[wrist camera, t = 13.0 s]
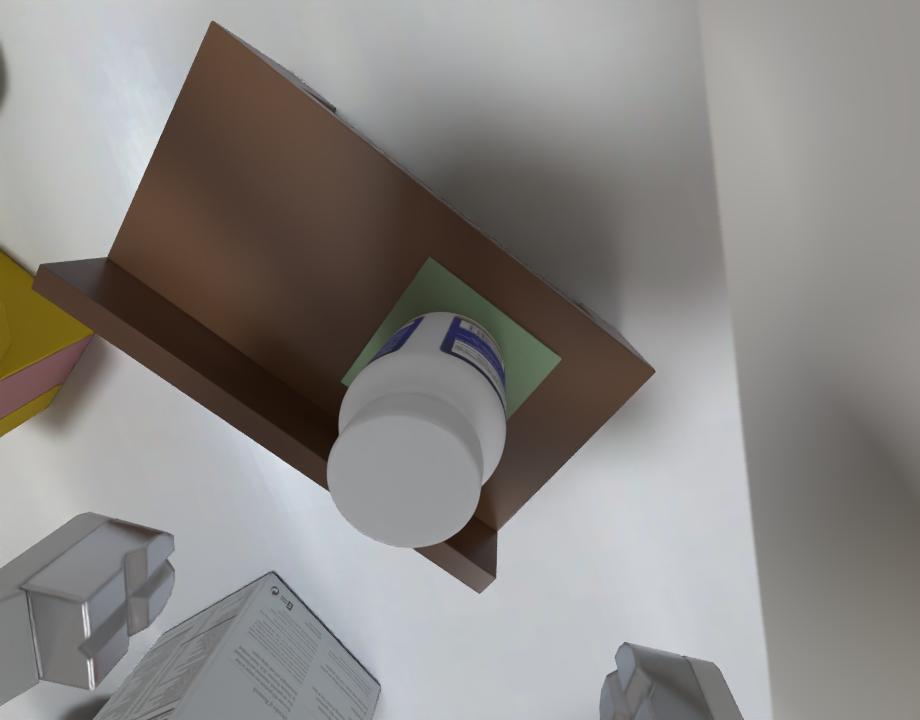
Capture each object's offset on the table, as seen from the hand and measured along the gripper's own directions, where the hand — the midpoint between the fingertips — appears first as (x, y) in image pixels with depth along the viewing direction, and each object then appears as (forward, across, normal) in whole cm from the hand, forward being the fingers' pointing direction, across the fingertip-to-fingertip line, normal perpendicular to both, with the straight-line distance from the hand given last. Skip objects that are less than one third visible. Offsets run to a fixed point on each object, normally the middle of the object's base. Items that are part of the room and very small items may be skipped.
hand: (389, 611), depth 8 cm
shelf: (+18, +4, -1) cm, 19 cm away
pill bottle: (+12, +1, 0) cm, 13 cm away
